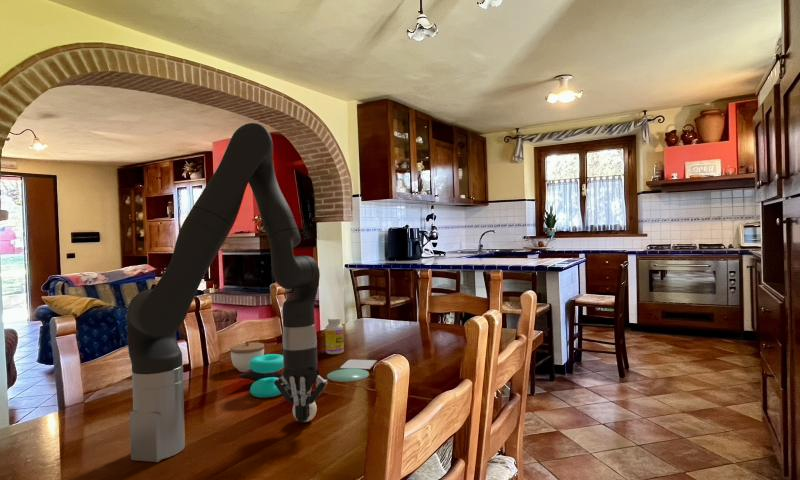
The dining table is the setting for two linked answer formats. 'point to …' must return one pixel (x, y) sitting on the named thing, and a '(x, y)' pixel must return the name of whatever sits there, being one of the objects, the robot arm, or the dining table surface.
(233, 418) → the dining table surface
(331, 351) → the supplement bottle
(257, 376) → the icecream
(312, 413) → the ball
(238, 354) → the lidded jar
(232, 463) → the dining table surface
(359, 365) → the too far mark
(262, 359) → the donuts
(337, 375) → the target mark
